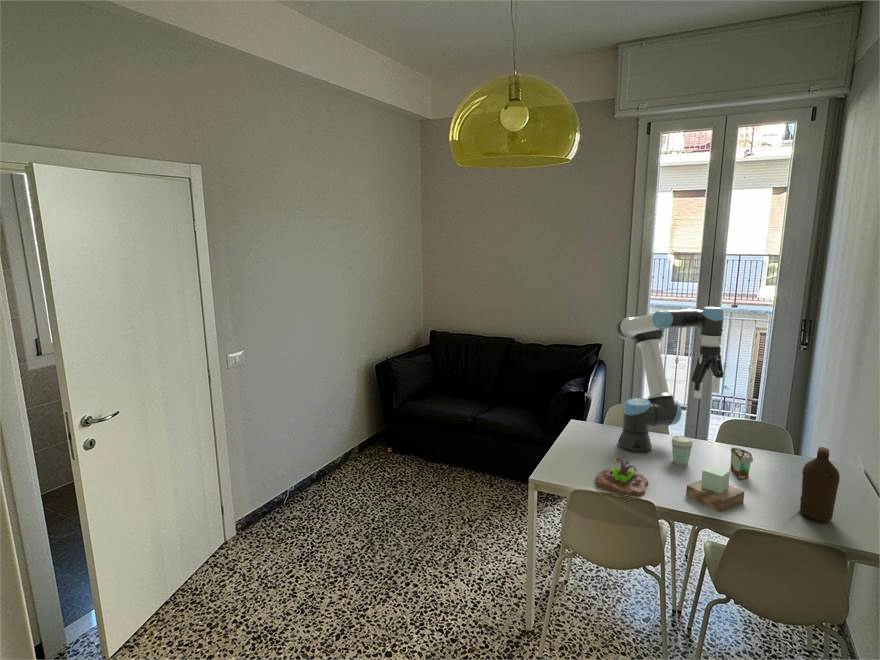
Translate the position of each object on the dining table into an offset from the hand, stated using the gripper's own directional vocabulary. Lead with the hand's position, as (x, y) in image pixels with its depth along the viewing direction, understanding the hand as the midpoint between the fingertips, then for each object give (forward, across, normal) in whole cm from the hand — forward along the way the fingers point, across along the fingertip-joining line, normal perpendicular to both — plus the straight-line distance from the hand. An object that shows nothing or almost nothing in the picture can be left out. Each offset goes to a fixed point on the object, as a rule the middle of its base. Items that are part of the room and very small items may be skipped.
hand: (706, 395), depth 208 cm
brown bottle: (+35, +2, -41) cm, 54 cm away
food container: (+35, +13, -11) cm, 39 cm away
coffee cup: (+35, +2, +10) cm, 36 cm away
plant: (+35, -35, +13) cm, 52 cm away
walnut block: (+35, -17, -15) cm, 42 cm away
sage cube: (+30, -17, -15) cm, 38 cm away
